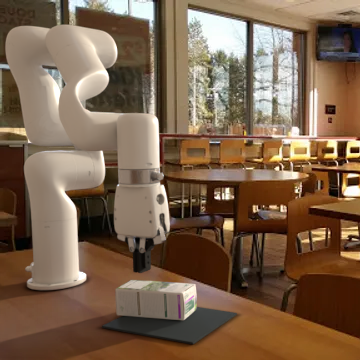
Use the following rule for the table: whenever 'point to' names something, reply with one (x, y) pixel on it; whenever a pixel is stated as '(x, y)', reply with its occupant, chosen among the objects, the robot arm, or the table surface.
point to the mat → (174, 325)
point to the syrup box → (156, 299)
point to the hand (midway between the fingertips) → (142, 270)
